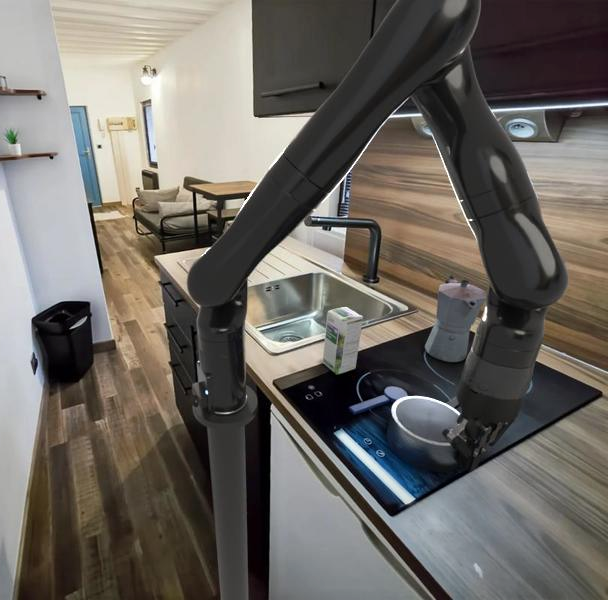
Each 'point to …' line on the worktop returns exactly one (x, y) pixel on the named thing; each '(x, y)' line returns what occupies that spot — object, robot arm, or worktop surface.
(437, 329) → the moka pot
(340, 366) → the syrup box
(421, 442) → the saucepan
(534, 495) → the worktop surface
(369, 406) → the spoon
